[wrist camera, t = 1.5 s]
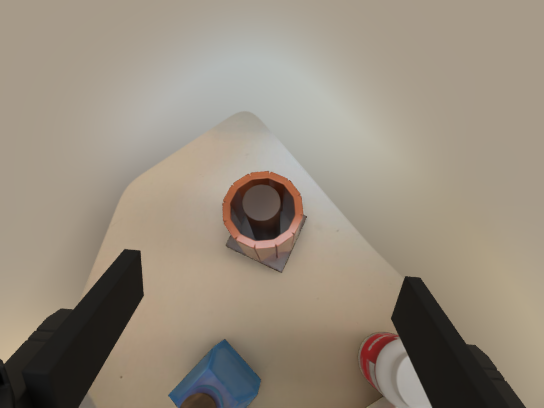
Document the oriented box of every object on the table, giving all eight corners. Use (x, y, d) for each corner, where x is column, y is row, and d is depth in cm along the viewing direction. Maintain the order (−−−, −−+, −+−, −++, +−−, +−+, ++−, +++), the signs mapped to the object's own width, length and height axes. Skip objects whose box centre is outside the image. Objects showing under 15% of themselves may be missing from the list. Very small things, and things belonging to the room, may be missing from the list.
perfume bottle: (224, 339, 37) (200, 355, 26) (261, 379, 36) (252, 415, 25) (186, 380, 36) (143, 416, 25) (222, 423, 35) (194, 482, 23)
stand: (306, 218, 42) (317, 182, 29) (281, 272, 40) (282, 259, 27) (253, 194, 43) (242, 151, 31) (226, 246, 41) (203, 222, 29)
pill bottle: (401, 327, 37) (449, 337, 27) (416, 384, 36) (474, 418, 25) (351, 335, 37) (379, 348, 27) (363, 393, 35) (398, 431, 25)
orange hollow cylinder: (307, 216, 41) (315, 190, 31) (281, 272, 39) (282, 262, 29) (252, 192, 42) (244, 160, 33) (225, 245, 40) (208, 227, 30)
